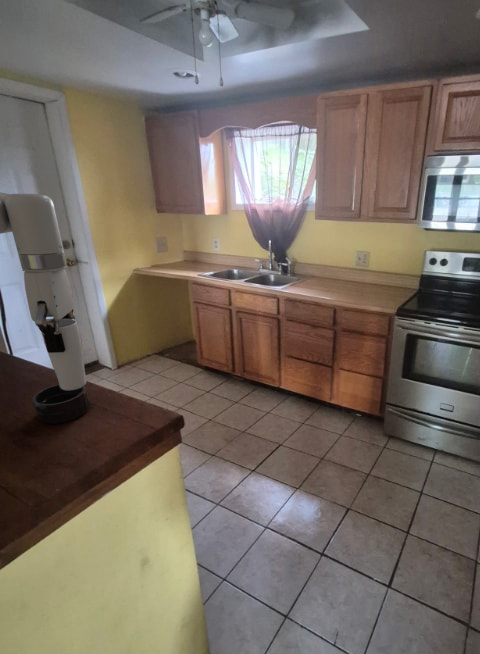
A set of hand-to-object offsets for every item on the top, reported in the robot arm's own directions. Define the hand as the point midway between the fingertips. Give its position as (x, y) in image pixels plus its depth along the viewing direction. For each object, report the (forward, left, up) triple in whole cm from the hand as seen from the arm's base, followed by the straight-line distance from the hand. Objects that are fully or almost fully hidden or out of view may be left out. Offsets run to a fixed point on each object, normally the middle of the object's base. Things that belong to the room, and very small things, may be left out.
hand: (63, 344), depth 80 cm
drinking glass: (0, 0, -10) cm, 10 cm away
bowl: (-7, +7, -21) cm, 23 cm away
